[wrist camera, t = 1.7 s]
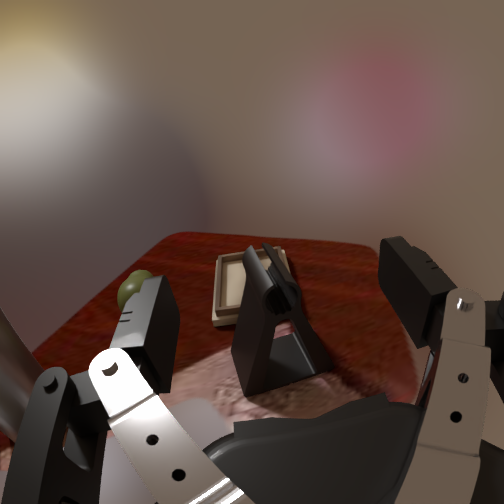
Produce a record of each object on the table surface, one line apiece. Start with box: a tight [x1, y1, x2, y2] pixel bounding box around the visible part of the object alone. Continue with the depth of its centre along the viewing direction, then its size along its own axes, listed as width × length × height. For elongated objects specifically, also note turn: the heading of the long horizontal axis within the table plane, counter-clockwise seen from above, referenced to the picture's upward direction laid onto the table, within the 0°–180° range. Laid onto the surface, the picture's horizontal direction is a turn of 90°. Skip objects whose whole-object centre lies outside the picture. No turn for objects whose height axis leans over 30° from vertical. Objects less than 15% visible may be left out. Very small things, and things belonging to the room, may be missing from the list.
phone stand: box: [231, 243, 335, 397], centre depth 27 cm, size 9×6×12 cm, turn 104°
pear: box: [118, 270, 153, 312], centre depth 40 cm, size 6×5×10 cm
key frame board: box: [212, 246, 290, 327], centre depth 41 cm, size 10×13×2 cm
